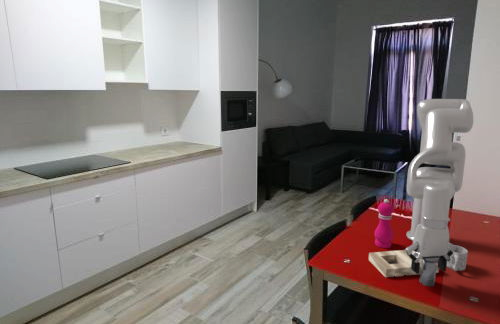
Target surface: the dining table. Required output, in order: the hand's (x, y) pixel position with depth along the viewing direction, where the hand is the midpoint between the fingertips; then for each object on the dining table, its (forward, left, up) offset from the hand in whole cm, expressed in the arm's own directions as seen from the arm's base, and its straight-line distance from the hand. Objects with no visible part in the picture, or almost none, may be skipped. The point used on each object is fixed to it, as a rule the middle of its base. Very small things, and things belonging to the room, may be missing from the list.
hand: (428, 270), depth 108 cm
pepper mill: (0, -28, -5) cm, 28 cm away
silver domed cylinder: (0, 0, -5) cm, 5 cm away
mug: (-16, -7, -5) cm, 18 cm away
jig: (+2, -11, -4) cm, 12 cm away
